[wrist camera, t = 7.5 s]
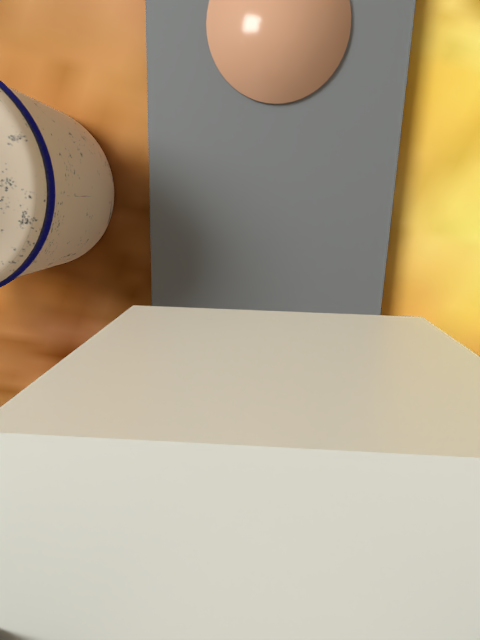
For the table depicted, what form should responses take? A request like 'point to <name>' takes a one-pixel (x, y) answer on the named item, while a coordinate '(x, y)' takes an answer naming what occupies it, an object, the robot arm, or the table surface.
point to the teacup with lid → (48, 187)
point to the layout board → (274, 151)
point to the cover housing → (245, 482)
